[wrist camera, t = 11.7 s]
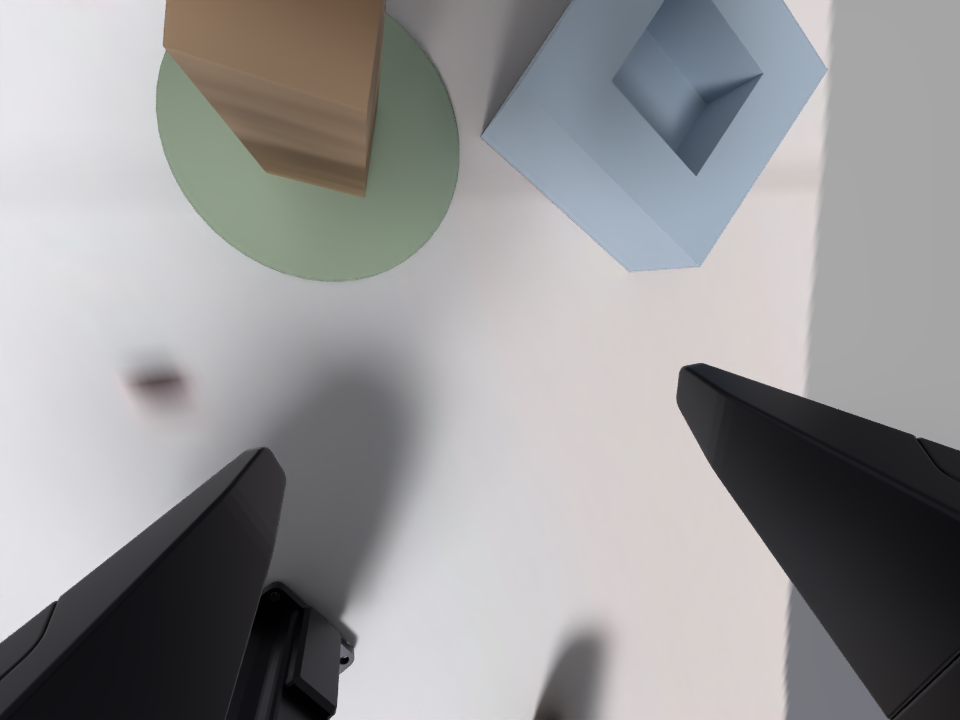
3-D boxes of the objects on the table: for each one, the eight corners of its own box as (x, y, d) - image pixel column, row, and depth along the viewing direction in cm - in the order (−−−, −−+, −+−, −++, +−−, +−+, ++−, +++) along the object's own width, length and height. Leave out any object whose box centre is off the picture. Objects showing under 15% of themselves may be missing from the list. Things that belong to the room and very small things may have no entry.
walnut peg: (364, 197, 18) (366, 111, 9) (266, 172, 16) (162, 45, 8) (377, 104, 17) (393, -79, 9) (277, 71, 16) (179, -180, 7)
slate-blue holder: (629, 272, 23) (699, 266, 18) (480, 136, 19) (519, 85, 14) (731, 115, 23) (827, 69, 18) (603, -48, 19) (682, -158, 14)
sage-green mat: (295, 331, 18) (294, 332, 18) (82, 67, 15) (74, 61, 14) (501, 197, 20) (504, 195, 19) (355, -69, 16) (355, -78, 16)
